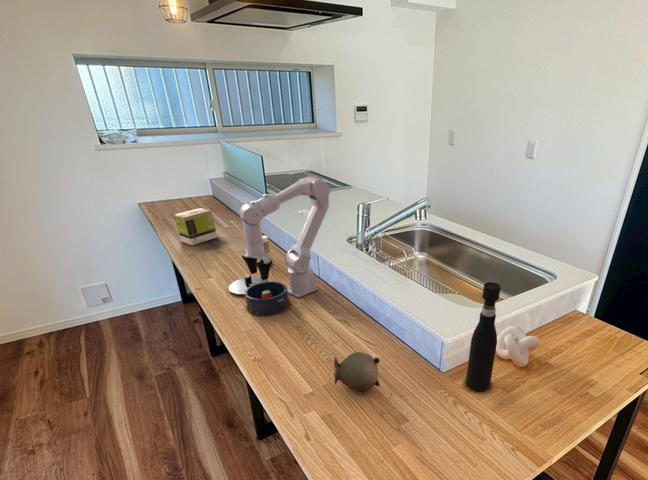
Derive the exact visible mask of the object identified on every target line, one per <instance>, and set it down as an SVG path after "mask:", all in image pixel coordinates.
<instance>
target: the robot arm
mask: <svg viewBox="0 0 648 480" xmlns="http://www.w3.org/2000/svg"><path fill="white" fill-rule="evenodd" d="M330 192H331V190H330V187H329V185H328V183H327V182H326V181H325V180H324V179H320V178H317V177H315V176H313V175H307V176H305V177H304V178H303V177H302V178H300V179H298V180H297V181H296V182H294V183H293V184H291V185H290V186H288V187H286V188H284V189H283V190H281V191H279V192H278V193H276V194H271V193H268V194H267V193H264V194H262V197H260V198H259V199H257V200H252V201H250V203H249V204H248V203H246V204H243V205H242V206H241V207H240V209H239V212H238V213H237V214H238V217H239V219H241V220H242V227H243V228H242V229H243V235H244V236H243V237H244V241H245V247H242V252H243V255H242V256H241V258H242V260H243V261H244V262H245V264H246V266H247V268H248V270H249V273H250V275H254V274H257V273H258V271H259V275H260V278H262V280H263V281H264V280H269V276H270V270H271V267H272V266H273V260H272V259H271V260H270V257H268V256H267V254H266V253H265V251H264V246H263V239H262V236H263V234H262V227H261V222H262V220H263V218H265V217H267V216H269V215H271V214H273V213H274V212H277V211H278V210H279V209H280V206H281V205H282V204H283V203H285V202H288V201H290V200H292V199H294V198H297V197H298V196H307V197H308V198H309V200H310V202H311V205H312V206H311V209H310V211H309V213H308V215H307V218H306V220H305V223H304V225H303V227H302V230H301V232H300V234H299V237H298V239H297V242H296V243H295V244H294V245H292V246H291V248H290V250H289V251H288V252H287V253H286V254H285V256H284V262H285V264H286V265H287V266H288V268H287V273H288V279H289V286H290V288H287V291H288V294H291V295H292V296H294V297H296V298H300V297H304V296H305V295H309V294H310V293H313V292H315V291H318V288H317V284H316V275H315V271H314V270H313V268H312V267H310V261H311V258H312V255H311V249H312V246H313V244H314V242H315V240H316V237H317V234H318V232H319V230H320V228H321V226H322V223H323V222H324V219H325V217H326V214H327V213H328V210H329V206H330V204H329V203H330V197H329V196H330ZM258 260H259V261H258ZM271 265H272V266H271Z"/></svg>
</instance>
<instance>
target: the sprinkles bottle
mask: <svg viewBox="0 0 648 480" xmlns="http://www.w3.org/2000/svg"><path fill="white" fill-rule="evenodd" d="M262 239H263V246H264V251H265V253H266V254H267V256H268V257H270V260H272V256H271V248H270V243H269V236H267V235H262ZM272 266H273V264H272V265H271V267H272Z"/></svg>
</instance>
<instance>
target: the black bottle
mask: <svg viewBox="0 0 648 480" xmlns="http://www.w3.org/2000/svg"><path fill="white" fill-rule="evenodd" d="M501 287H502V286H501V285H500V284H499V283H497V282H491V281H490V282H489V281H488V282H485V283H484V284H483V289H482V296H481V297H482V299H483V300H484V302H483V306H482V307H481V311H480V313H479V320H478V323H477V324H476V327H474V330H473V333H472V336H471V339H470V348H469V355H468V362H467V368H466V369H467V371H466V376H465V377H466V378H465V385H466V387H467V388H468V389H469V390H471V391H473V392H477V393H482V392H487V391H488V390H489V389H490V387H491V381H492V375H493V369H494V363H495V357H496V353H497V351H496V346H497V339H498V333H497V330H496V317H497V314H496V310H497V308H496V302H497V301H498V300H499V299H500V293H501Z"/></svg>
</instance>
